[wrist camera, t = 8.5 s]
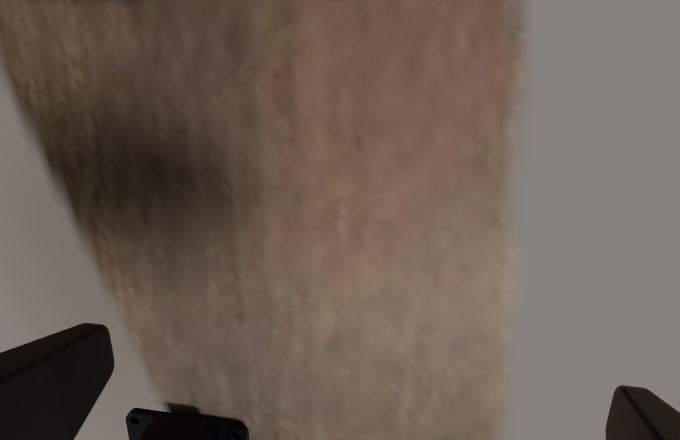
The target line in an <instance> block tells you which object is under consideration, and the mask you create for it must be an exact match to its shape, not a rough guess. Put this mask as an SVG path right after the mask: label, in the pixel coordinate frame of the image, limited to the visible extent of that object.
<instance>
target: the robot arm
mask: <svg viewBox="0 0 680 440" xmlns="http://www.w3.org/2000/svg"><path fill="white" fill-rule="evenodd" d="M113 369H114V356H113V351H112V345H111V340H110V333H109V330H108V328H107V327H106V326H104V325H100V324H92V323H83V324H80V325H77V326H74V327H72V328H69V329H66V330H63V331H60V332H57V333H55V334H52V335H49V336H47V337H44V338H41V339H38V340H35V341H32V342H30V343H27V344H24V345H21V346H19V347H16V348H13V349H10V350H7V351H5V352H2V353H0V440H74V438H75V436H76V435H77V433H78V431H79V430H80V428H81V426H82V425H83V423H84V421H85V420H86V418H87V416H88V414H89V413H90V411H91V409H92V408H93V406H94V404H95V403H96V401H97V399H98V397H99V396H100V394H101V392H102V390H103V389H104V387H105V385H106V384H107V382H108V380H109V378H110V377H111V375H112V372H113ZM126 424H127V429H128V435H129V440H249V431H248V428H247V427H246V426H245V425H243V424H241V423H238V422H231V421H224V420H217V419H210V418H203V417H196V416H189V415H182V414H175V413H168V412H162V411H155V410H148V409H140V408H134V409H132V410H131V411H130V412H129V414H128V415H127V416H126ZM236 432H237V433H239V434H240V435H239V434H237V433H236ZM606 440H680V413H679V412H678V411H677V410H675V409H674V408H673V407H671V406H670V405H669V404H667V403H666V402H664V401H663V400H662V399H660V398H659V397H657V396H656V395H655V394H653V393H652V392H651V391H649V390H648V389H645V388H641V387H632V386H624V385H621V386H619V387H617V388H616V390H615V391H614V395H613V399H612V403H611V407H610V411H609V416H608V420H607V424H606Z"/></svg>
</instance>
